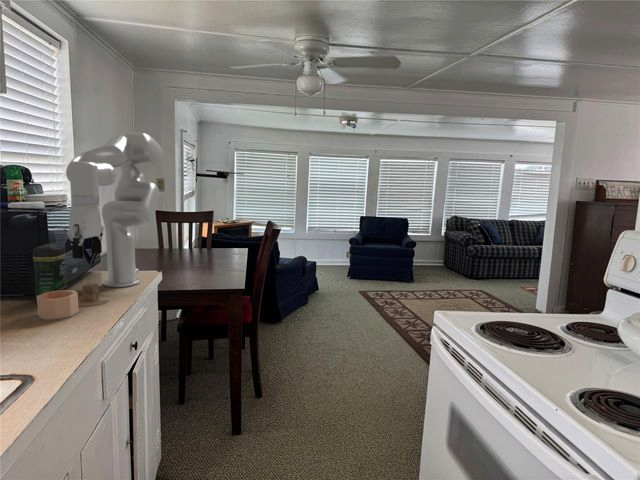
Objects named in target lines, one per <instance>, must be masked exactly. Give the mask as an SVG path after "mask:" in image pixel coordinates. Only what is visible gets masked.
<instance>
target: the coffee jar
mask: <svg viewBox="0 0 640 480" xmlns="http://www.w3.org/2000/svg"><path fill="white" fill-rule="evenodd" d="M50 243H51V244H48V243H47V244H42V245H40V246H36V247H35V248H33V249H32V260H33V265H34V279H35V280H34V282H35V284H34V285H35V290H34V291H35V293H34V294H35V301H36V302H37V296H38V295H41V294H43V293H46V292H52V291H59V290H69V289H68V282H67V271H66V269H67V268H66V247H65V246H64V245H63V244H62V243H59V242H58V243H53V242H50Z"/></svg>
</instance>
